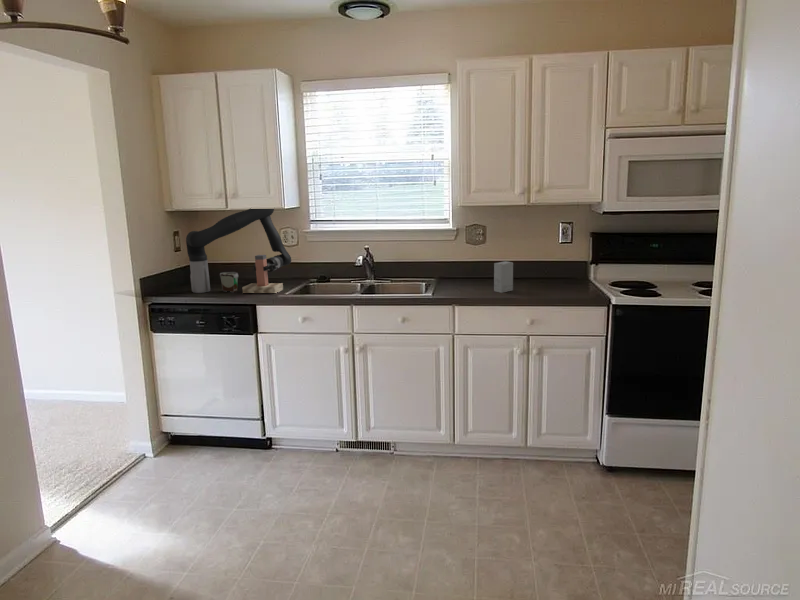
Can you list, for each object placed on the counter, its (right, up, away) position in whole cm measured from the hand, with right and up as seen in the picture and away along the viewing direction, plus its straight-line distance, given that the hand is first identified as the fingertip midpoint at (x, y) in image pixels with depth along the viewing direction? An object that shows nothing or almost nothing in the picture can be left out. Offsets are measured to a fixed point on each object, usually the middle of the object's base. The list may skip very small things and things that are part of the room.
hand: (259, 268), depth 299 cm
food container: (-17, -12, +10) cm, 23 cm away
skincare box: (+128, -12, -12) cm, 129 cm away
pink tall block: (+1, -9, +5) cm, 10 cm away
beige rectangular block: (+1, -12, +5) cm, 13 cm away
